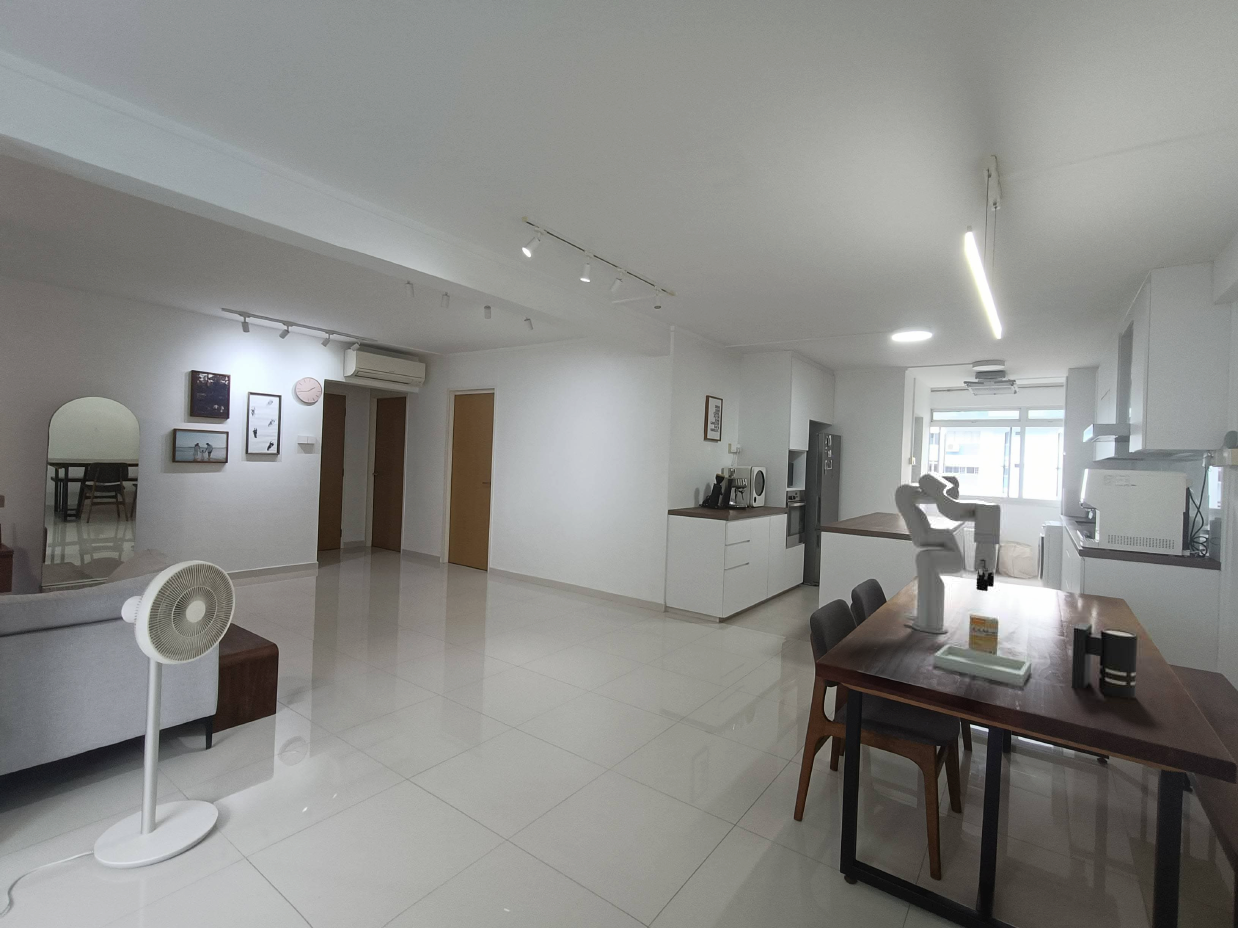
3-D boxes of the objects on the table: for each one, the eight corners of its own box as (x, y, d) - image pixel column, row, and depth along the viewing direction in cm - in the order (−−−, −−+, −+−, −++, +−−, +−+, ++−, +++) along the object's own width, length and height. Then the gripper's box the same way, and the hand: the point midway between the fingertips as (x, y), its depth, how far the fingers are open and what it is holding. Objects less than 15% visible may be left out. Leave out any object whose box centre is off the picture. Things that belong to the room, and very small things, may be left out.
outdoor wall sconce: (1132, 702, 165) (1134, 639, 165) (1071, 687, 175) (1073, 627, 175) (1137, 693, 172) (1139, 632, 171) (1078, 679, 182) (1080, 621, 182)
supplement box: (969, 654, 203) (970, 616, 203) (968, 650, 207) (969, 613, 207) (997, 658, 199) (998, 620, 199) (995, 654, 203) (997, 617, 203)
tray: (933, 665, 191) (934, 654, 191) (946, 654, 203) (947, 643, 203) (1022, 686, 175) (1022, 674, 175) (1030, 672, 186) (1031, 661, 186)
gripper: (979, 535, 211) (978, 582, 212) (968, 539, 199) (966, 590, 199) (1004, 537, 206) (1002, 586, 207) (994, 542, 194) (992, 593, 194)
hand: (985, 588), depth 203 cm, fingers open, 9 cm apart
